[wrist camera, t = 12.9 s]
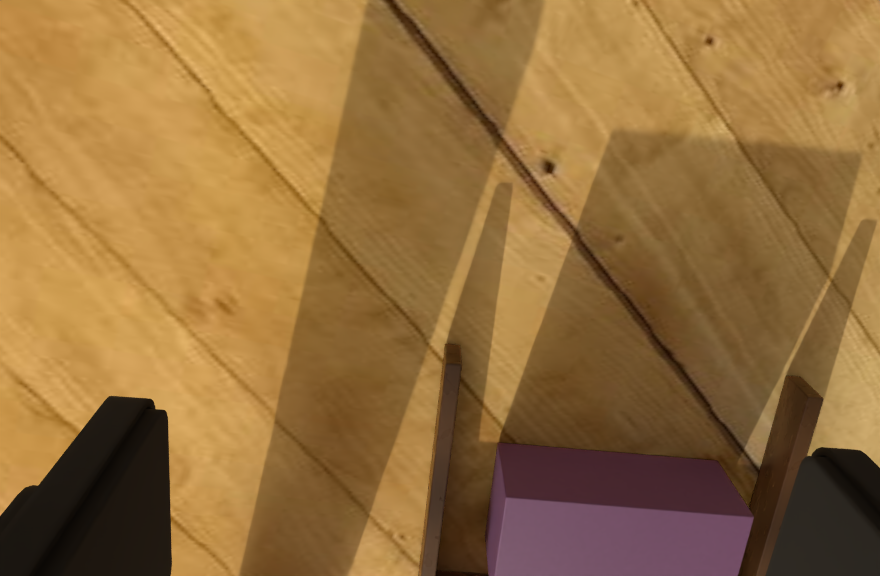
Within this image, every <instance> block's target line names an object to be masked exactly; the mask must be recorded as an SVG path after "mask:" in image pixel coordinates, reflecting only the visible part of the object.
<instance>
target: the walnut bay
mask: <svg viewBox="0 0 880 576" xmlns="http://www.w3.org/2000/svg"><path fill="white" fill-rule="evenodd" d="M461 370H462V360H461V348H460V345H454V344H445V348H444V357H443V366H442V374H441V383H440V392H439V400H438V409H437V418H436V426H435V435H434V444H433V452H432V461H431V470H430V478H429V487H428V496H427V504H426V513H425V522H424V530H423V539H422V548H421V556H420V565H419V574H418V576H489V575H485V574H473V573H461V572H449V571H436V570H437V562H438V554H439V546H440V538H441V530H442V522H443V514H444V506H445V498H446V490H447V482H448V474H449V466H450V458H451V450H452V442H453V434H454V426H455V418H456V410H457V402H458V394H459V386H460V378H461ZM822 402H823V398H822V397H821V396H820V395H819V394H818V393H817V392H816V391H815V390H814V389H813V388H812V387H811V386H810V385H809V384H808V383H807V382H806V381H804V380H803V379H802V378H801V377H797V376H786V378H785V382H784V386H783V389H782V393H781V396H780V400H779V404H778V407H777V411H776V414H775V418H774V422H773V425H772V429H771V432H770V436H769V439H768V443H767V447H766V450H765V454H764V457H763V461H762V465H761V468H760V472H759V475H758V479H757V483H756V486H755V490H754V493H753V497H752V501H751V504H750V508H749V510H750V511H751V513H752V514H753V516H754V519H753V523H752V527H751V530H750V534H749V538H748V541H747V545H746V549H745V552H744V556H743V559H742V563H741V567H740V570H739V574H738V576H765V575H766V572H767V569H768V566H769V563H770V559H771V556H772V553H773V550H774V547H775V543H776V540H777V537H778V534H779V531H780V527H781V524H782V521H783V518H784V515H785V511H786V508H787V505H788V502H789V499H790V495H791V492H792V489H793V486H794V483H795V479H796V476H797V473H798V470H799V467H800V464H801V462H802V460H803V459H804V458H805V457H806V456H807V453H808V449H809V446H810V443H811V439H812V436H813V433H814V429H815V426H816V423H817V419H818V416H819V412H820V409H821V406H822Z"/></svg>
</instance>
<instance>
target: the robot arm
mask: <svg viewBox="0 0 880 576" xmlns="http://www.w3.org/2000/svg"><path fill="white" fill-rule="evenodd" d="M171 567H172V556H171V518H170V480H169V442H168V416H167V413H166V411H165V410H156V409H155V405H154V402H153V400H152V399H146V398H132V397H118V396H109V397H108V398H107V399H106V400H105V401H104V402H103V404H102V405H101V406H100V408H99V409H98V410H97V411H96V413H95V414H94V415H93V417H92V418H91V419H90V420H89V422H88V423H87V424H86V426H85V427H84V428H83V429H82V431H81V432H80V433H79V434H78V436H77V437H76V438H75V440H74V441H73V442H72V443H71V445H70V446H69V447H68V449H67V450H66V451H65V452H64V454H63V455H62V456H61V457H60V459H59V460H58V461H57V463H56V464H55V465H54V466H53V468H52V469H51V470H50V472H49V473H48V474H47V475H46V477H45V478H44V479H43V481H42V482H41V483H40V484H39V486H35V485H32V486H29V487H26V488H24V489H23V490H22V491H21V492H20V493H19V494H18V495H17V496H16V497H15V499H14V500H13V501H12V502H11V504H10V505H9V506H8V507H7V509H6V510H5V511H4V512H3V514H2V515H1V516H0V576H170V575H171ZM765 576H880V468H879V467H878V466H877V465H876V464H875V463H874V462H873V461H872V460H871V459H870V458H869V457H868V456H867V455H866V454H865V453H863V452H862V451H860V450H851V449H837V448H824V447H821V448H818V449H816V450H815V451H814V452H813V454H812V456H807V457H805V458H804V459H803V460H802V462H801V464H800V467H799V470H798V473H797V476H796V479H795V483H794V486H793V489H792V492H791V495H790V499H789V502H788V505H787V508H786V511H785V515H784V518H783V521H782V524H781V527H780V531H779V534H778V537H777V540H776V543H775V547H774V550H773V553H772V556H771V559H770V563H769V566H768V569H767V572H766V575H765Z"/></svg>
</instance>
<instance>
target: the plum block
mask: <svg viewBox="0 0 880 576" xmlns="http://www.w3.org/2000/svg"><path fill="white" fill-rule="evenodd" d="M753 519H754V516H753V514H752V513H751V511H750V510H749V508H748V507H747V505H746V504H745V502H744V500H743V499H742V497H741V496H740V494H739V493H738V491H737V490H736V488H735V487H734V485H733V484H732V482H731V481H730V479H729V478H728V476H727V474H726V473H725V471H724V470H723V468H722V467H721V465H720V464H719V462H718V461H715V460H703V459H690V458H678V457H666V456H654V455H642V454H630V453H618V452H606V451H594V450H582V449H570V448H558V447H546V446H534V445H522V444H510V443H498V445H497V452H496V459H495V466H494V473H493V481H492V488H491V495H490V502H489V509H488V516H487V524H486V531H485V542H486V552H487V562H488V572H489V576H738V574H739V570H740V567H741V563H742V559H743V556H744V552H745V549H746V545H747V541H748V538H749V534H750V530H751V527H752V523H753Z"/></svg>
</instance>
